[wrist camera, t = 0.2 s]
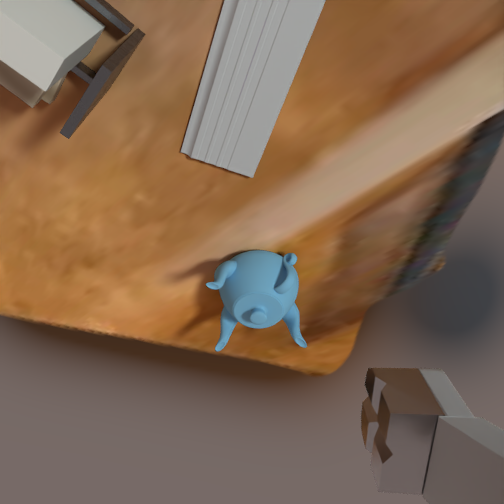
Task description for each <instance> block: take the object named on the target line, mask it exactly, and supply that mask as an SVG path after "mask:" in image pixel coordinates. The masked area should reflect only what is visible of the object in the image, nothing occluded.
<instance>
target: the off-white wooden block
mask: <svg viewBox="0 0 504 504" xmlns="http://www.w3.org/2000/svg"><path fill="white" fill-rule="evenodd" d="M105 27H106V26H105V25H104V24H103V23H101V22H100V21H99V20H98V19H96V18H95V17H94V16H93V15H91V14H90V13H89V12H88V11H87V10H85V9H84V8H83V7H82V6H80V5H79V4H78V3H77V2H75V1H74V0H0V60H1V61H3V62H4V63H6V64H7V65H8V66H10V67H11V68H13V69H14V70H15V71H17V72H18V73H20V74H21V75H23V76H24V77H25V78H27V79H28V80H30V81H31V82H32V83H34V84H35V85H37V86H38V87H39V88H41V89H42V90H44V91H45V92H46V91H47V90H48V89H50V88H51V87H52V86H53V85H54V84H55V83H56V82H57V81H59V80H60V79H61V78H62V77H63V76H64V75H65V74H67V73H68V72H69V71H70V70H71V69H72V68H73V67H74V66H76V65H77V64H78V63H79V62H80V61H81V60H82V59H84V58H85V57H86V56H87V55H88V54H89V53H90V51H91V50H92V48H93V46H94V45H95V43H96V41H97V40H98V38H99V36H100V35H101V33H102V31H103V30H104V28H105Z"/></svg>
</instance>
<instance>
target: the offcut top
mask: <svg viewBox="0 0 504 504" xmlns="http://www.w3.org/2000/svg"><path fill="white" fill-rule="evenodd" d="M0 84H1V85H2V86H4V87H5V88H6V89H8V90H9V91H10V92H12V93H13V94H14V95H16V96H17V97H18V98H20V99H21V100H22V101H24V102H25V103H26V104H28V105H29V106H31V107H32V108H33V107H34V106H35V105H36V104H37V103H38V102H39V101H40V100H41V98H42V97H43V95H44V94H45V91H44V90H42V89H41V88H39V87H38V86H37V85H35V84H34V83H32V82H31V81H30V80H28V79H27V78H25V77H24V76H23V75H21V74H20V73H18V72H17V71H15V70H14V69H13V68H11V67H10V66H8V65H7V64H6V63H4V62H3V61H1V60H0Z"/></svg>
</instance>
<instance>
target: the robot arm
mask: <svg viewBox="0 0 504 504" xmlns="http://www.w3.org/2000/svg"><path fill="white" fill-rule="evenodd" d="M365 387H366V390H367V393H368V397H367V398H366V399H365V400H364V401H363V403H362V411H361V430H362V436H363V441H364V445H365V448H366V449H367V450H368V451H369V452H370V453H372V457H371V464H370V465H371V469H372V472H373V475H374V479H375V482H376V485H377V488H378V491H379V492H388V493H389V492H390V493H403V494H419V495H423V498H424V499H425V500H426V501H427V502H428V503H429V504H504V430H502V429H500V428H499V427H497V426H495V425H494V424H492V423H490V422H488V421H487V420H485V419H484V418H478V417H477V418H476V417H474V416H473V414H472V413H471V411H470V410H469V408H468V407H467V405H466V404H465V402H464V401H463V399H462V398H461V397H460V395H459V394H458V392H457V391H456V389H455V388H454V386H453V385H452V383H451V382H450V380H449V379H448V377H447V376H446V374H445V373H444V371H443V370H441V369H438V368H368V371H367V374H366V379H365Z"/></svg>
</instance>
